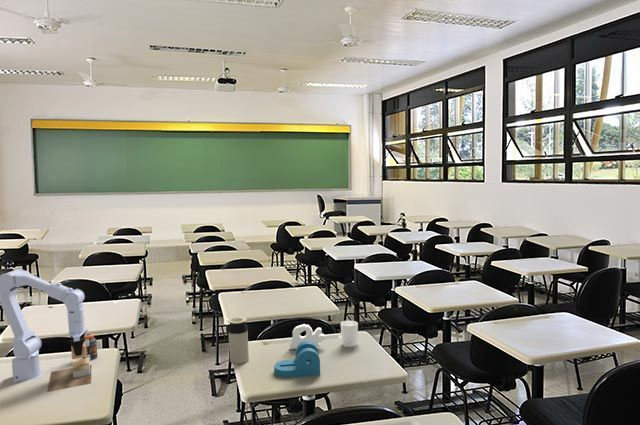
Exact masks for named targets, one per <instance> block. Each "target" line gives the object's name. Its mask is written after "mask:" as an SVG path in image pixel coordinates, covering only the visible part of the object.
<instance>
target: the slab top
mask: <svg viewBox="0 0 640 425" xmlns="http://www.w3.org/2000/svg"><path fill="white" fill-rule="evenodd" d="M90 363H91V362H90V361H89V358H84V359H83V358H78V359H72V368H73V372H75V371H80V370H85V369H89V367H90V365H91V364H90Z"/></svg>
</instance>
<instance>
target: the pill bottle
mask: <svg viewBox="0 0 640 425" xmlns="http://www.w3.org/2000/svg"><path fill="white" fill-rule="evenodd" d="M94 335H95V334H94V333H85V336H84V338H85V340H84V342H85V343H86V357H84V358H89V362H90V361H94V360H96V359H98V346H97V343H98V342H97V338H95V337H94ZM84 358H82V359H84Z"/></svg>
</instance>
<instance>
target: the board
mask: <svg viewBox="0 0 640 425" xmlns="http://www.w3.org/2000/svg"><path fill="white" fill-rule="evenodd" d="M90 384H92V364H90V375H86V376H80V377H75V378H73V367H72V368H71V367H70V368H65V369H60V370H55V371H51V372H50V376H49V381H48V387H47V392H46V393H48V392H49V393H50V392H54V391H60V390H64V389H65V390H66V389H69V388H74V387H79V386H84V385H90Z"/></svg>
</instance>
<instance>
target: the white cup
mask: <svg viewBox="0 0 640 425" xmlns="http://www.w3.org/2000/svg"><path fill="white" fill-rule="evenodd" d="M358 331H359V323H358V322H357V321H355V320H343V321H341V322H340V332H341V333H340V336H341V342H342V346H343V347H347V348H353V347H356V346H357V345H358V335H359V334H358Z"/></svg>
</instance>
